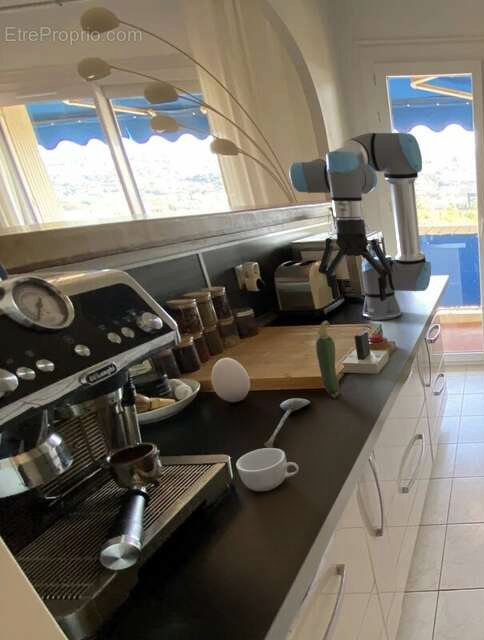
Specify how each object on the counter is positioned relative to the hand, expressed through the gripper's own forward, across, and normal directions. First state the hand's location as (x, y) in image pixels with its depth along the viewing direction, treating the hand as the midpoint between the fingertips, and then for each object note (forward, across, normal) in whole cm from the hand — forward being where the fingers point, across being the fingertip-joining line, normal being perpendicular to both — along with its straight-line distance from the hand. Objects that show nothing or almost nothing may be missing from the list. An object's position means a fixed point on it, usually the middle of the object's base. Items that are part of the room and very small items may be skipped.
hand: (359, 299), depth 126 cm
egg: (+20, -24, -27) cm, 42 cm away
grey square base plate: (+20, 0, -1) cm, 20 cm away
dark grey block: (+17, 0, -1) cm, 17 cm away
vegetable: (+20, -1, -22) cm, 30 cm away
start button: (+16, 0, +11) cm, 19 cm away
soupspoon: (+20, -6, -37) cm, 43 cm away
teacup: (+20, +3, -59) cm, 63 cm away
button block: (+20, 0, +11) cm, 22 cm away
